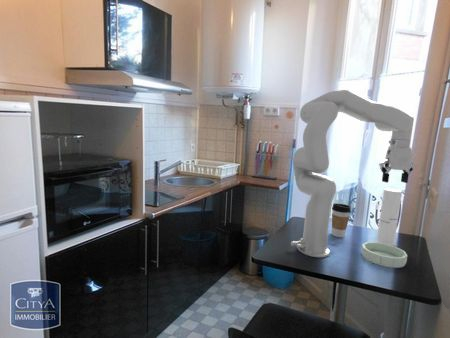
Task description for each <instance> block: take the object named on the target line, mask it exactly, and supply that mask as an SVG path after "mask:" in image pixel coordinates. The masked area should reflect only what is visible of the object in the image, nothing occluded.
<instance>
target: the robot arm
mask: <svg viewBox="0 0 450 338" xmlns="http://www.w3.org/2000/svg"><path fill="white" fill-rule="evenodd" d="M339 113H343V114H346V115H348V116H350V117H352V118H355V119H356V120H359V121H361V122H366V123H371V124H374V126H375V128H376V129H377V130H378V131H382V132H391V134H390V135H391V137H390V140H388V144H389V146H388V147H387V151H386V154H385V158H384V159H383V160H382V161H380V162H378V166H379V169H380V170H381V173H382V178H381V181H382V182H384V183H389V181H390V180H389V179H390V173H389V172H390V171H392V170H394V171H402V173H401V178H400V182H401V183H405V184H408V183H409V182H408V181H409V175H410V174H411V173H412V171H413V170H414V168H415V166H416V164H415V163H414V162H412V161H413V158H412V156H413V153H412V147H411V141H412V134H413V129H414V128H413V126H414V119H415V118H414V116H413V115H411V114H409V113H408V112H406V111H405V110H403V109H400V108H398V107H395V106H393V105H388V104H383V103H381V102H376V101H373V100H371V99H368V98H367V97H364V96H363V95H360V94H358V93H357V92H355V91H352V90H349V89H341V90H340V89H339V90H331V91H329V92H326V93H324V94H322V95H320V96H318V97H316V98H315V99H311V100H310V101H308V102H306V103H304V104H303V105H302V107H301V108H300V112H299V116H300V119H301V121H303V122H304V124H306V126H305V128H304V131H303V134H302V143H303V144H302V145H303V146H301V147H299V148H297V149H296V150H295V152H294V153H293V157H292V167H293V171H294V172H293V173H294V177H295V179H294V180H295V183H296V187H297V189H298V190H299V191H300V192H301V193H302V194H304V195H307V196H309V197H310V198H309V200H308V202H307V203H306V204H307V205H306V207H305V214H304V224H303V233H302V237H301V238H300V239H299V240H297V241H296V240H292V241H291V242H290V245H291V247H296V248H297V250H298V251H299V252H300V253H301V254H304V255H305V256H309V257H312V258H326V257H328V256H330V253H331V250H330V249H329V248H328V247H327V245H328V238H329V237H328V235H329V229H330V219H331V214H332V213H331V212H332V207H333V203H334V198H335V196H336V192H337V185H336V182H335V181H334V180H333V179H332V178H331V177H329V176H327V175H323V174H322V173H326V171H327V170H328V169H329V165H330V159H329V151H328V145H327V134H328V130H329V129H330V127H331V126H332V124H333V123H334V121H336V120H337V117H338V115H339Z"/></svg>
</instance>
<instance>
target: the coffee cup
mask: <svg viewBox="0 0 450 338" xmlns="http://www.w3.org/2000/svg"><path fill="white" fill-rule="evenodd" d="M331 211H332V213H331V235H332V236H334V237H337V238H344V237H345V236H346V231H347V228H348V224H349V219H350V213H351V206H350V205H348V204H343V203H334V202H333V203H332V206H331Z"/></svg>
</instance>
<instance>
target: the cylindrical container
mask: <svg viewBox="0 0 450 338" xmlns="http://www.w3.org/2000/svg"><path fill="white" fill-rule="evenodd" d="M402 195H403V190H399V189H396V188H386V187H385V188H384V189H383V195H382V201H381V208H380V215H379V222H378V228H377V235H376V240H375V242H379V243H385V244H389V245H392V246H394V245H395V243H396V242H395V241H396V233H397V227H398V223H399V221H398V220H399V217H400V216H399V214H400V208H401V202H402Z"/></svg>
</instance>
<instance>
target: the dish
mask: <svg viewBox="0 0 450 338" xmlns="http://www.w3.org/2000/svg"><path fill="white" fill-rule="evenodd" d="M361 256H362V258H364V259H365V260H366V261H368V262H370V263H372V264H374V265H378V266H381V267H386V268H391V269H393V268H394V269H398V268H399V269H400V268H403V267H405V266H406V264H407V261H408V253H406V251H405V250H403V249H401V248H399V247H397V246H392V245H389V244H385V243H379V242H376V241H366V242H365V243H362V245H361Z"/></svg>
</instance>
